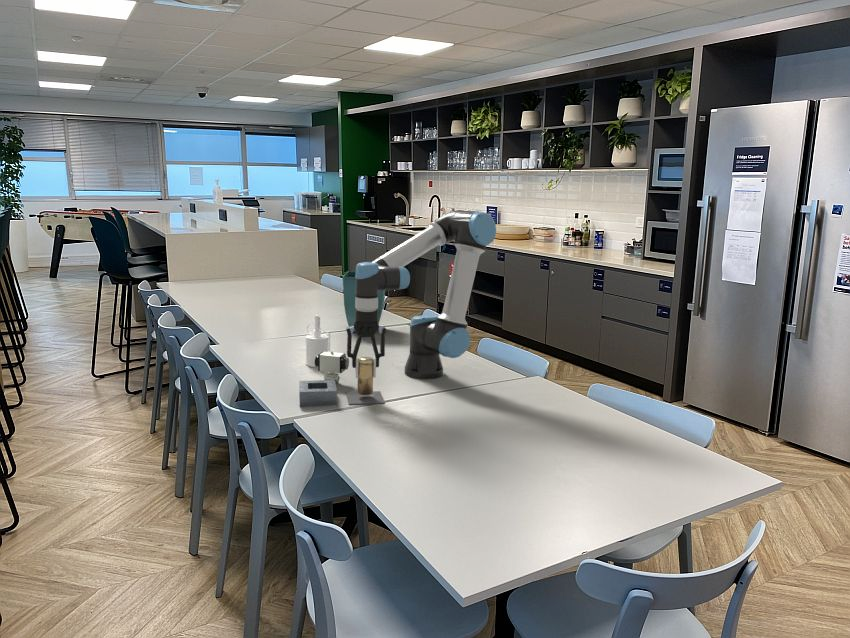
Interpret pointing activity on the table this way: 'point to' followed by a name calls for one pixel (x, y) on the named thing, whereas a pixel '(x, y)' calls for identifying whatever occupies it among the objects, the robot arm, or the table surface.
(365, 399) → the mat
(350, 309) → the flower pot
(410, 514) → the table surface
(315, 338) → the white squeeze bottle
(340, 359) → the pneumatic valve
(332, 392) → the block
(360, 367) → the tan cylinder
